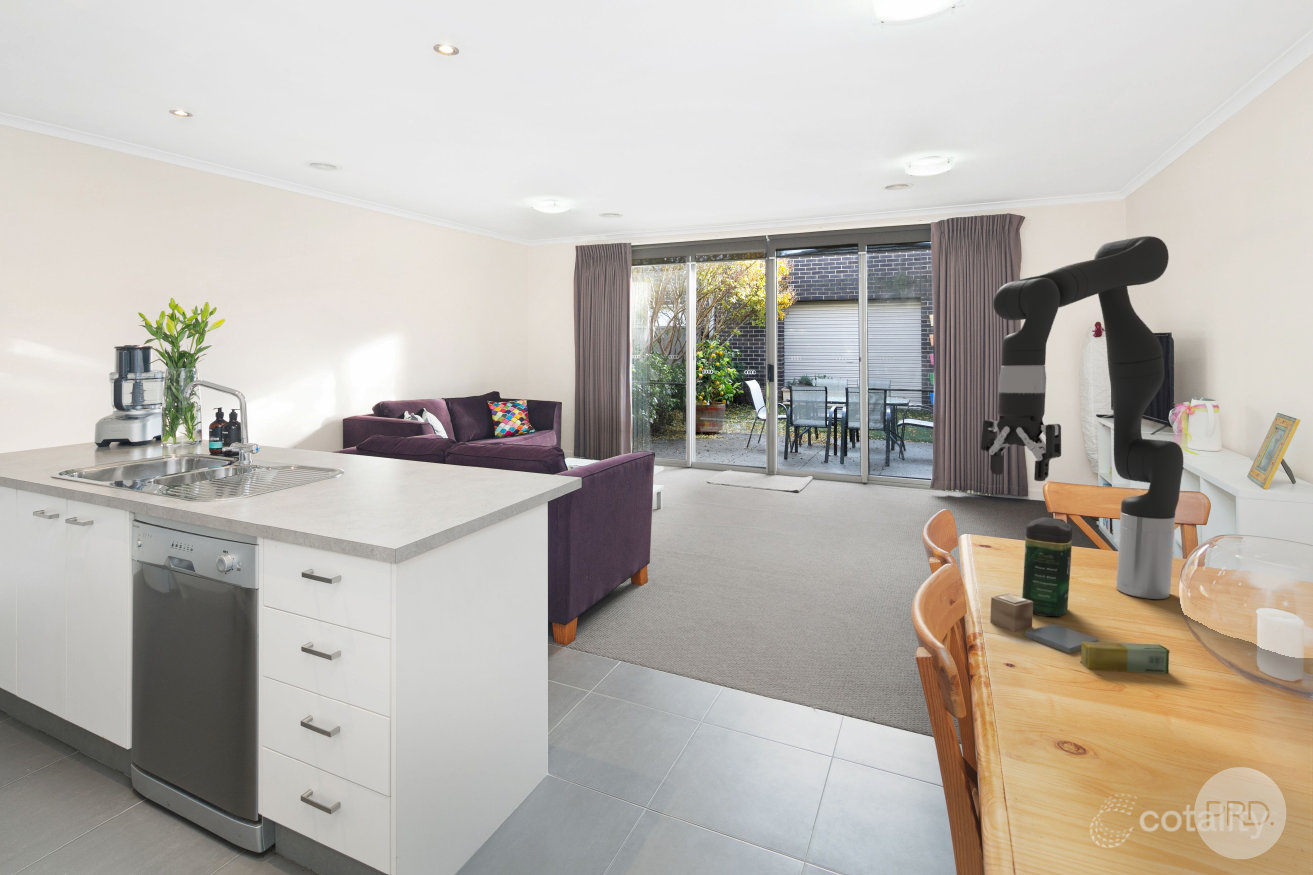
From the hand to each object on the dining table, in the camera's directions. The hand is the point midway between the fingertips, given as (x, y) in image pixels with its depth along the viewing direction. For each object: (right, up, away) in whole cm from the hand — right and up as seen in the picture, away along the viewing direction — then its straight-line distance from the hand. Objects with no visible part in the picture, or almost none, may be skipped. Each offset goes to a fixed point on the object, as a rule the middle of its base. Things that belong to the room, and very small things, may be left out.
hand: (1017, 477), depth 120 cm
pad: (+5, -29, -5) cm, 30 cm away
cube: (0, -28, +3) cm, 28 cm away
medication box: (+8, -30, -15) cm, 35 cm away
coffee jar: (+11, -28, +10) cm, 31 cm away
